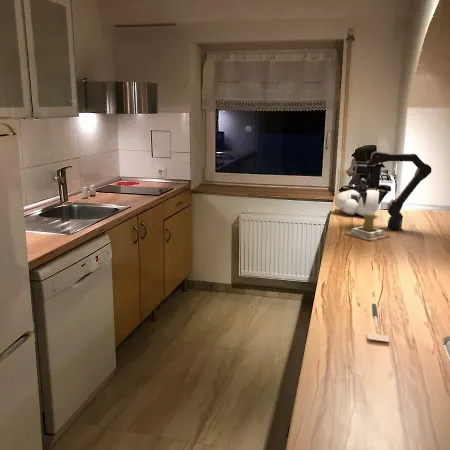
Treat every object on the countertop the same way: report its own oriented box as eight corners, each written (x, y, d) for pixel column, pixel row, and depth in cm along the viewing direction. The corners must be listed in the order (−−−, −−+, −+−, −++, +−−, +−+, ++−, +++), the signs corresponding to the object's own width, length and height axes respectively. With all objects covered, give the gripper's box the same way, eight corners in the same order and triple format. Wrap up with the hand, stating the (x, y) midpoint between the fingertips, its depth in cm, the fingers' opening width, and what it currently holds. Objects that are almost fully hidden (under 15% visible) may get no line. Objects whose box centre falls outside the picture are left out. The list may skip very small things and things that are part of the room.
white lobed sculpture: (341, 196, 321) (351, 170, 305) (377, 215, 313) (388, 189, 297) (326, 214, 309) (336, 188, 293) (363, 234, 301) (375, 208, 285)
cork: (363, 231, 262) (365, 211, 259) (374, 233, 259) (377, 213, 256) (359, 234, 257) (362, 213, 254) (371, 236, 254) (374, 215, 251)
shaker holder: (363, 230, 269) (364, 224, 268) (389, 237, 257) (390, 230, 256) (344, 234, 259) (345, 228, 258) (370, 241, 247) (371, 235, 246)
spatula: (367, 343, 144) (367, 338, 144) (364, 304, 172) (364, 300, 172) (389, 346, 143) (389, 341, 142) (383, 306, 171) (383, 302, 170)
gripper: (381, 172, 279) (378, 200, 283) (351, 173, 274) (348, 201, 278) (393, 176, 269) (389, 204, 272) (362, 176, 263) (359, 205, 267)
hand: (371, 203), depth 273 cm, fingers open, 9 cm apart
